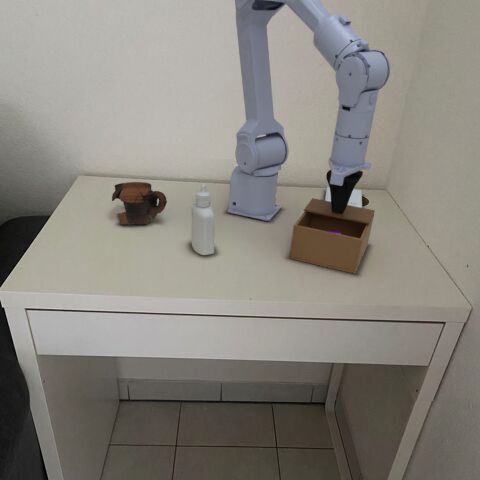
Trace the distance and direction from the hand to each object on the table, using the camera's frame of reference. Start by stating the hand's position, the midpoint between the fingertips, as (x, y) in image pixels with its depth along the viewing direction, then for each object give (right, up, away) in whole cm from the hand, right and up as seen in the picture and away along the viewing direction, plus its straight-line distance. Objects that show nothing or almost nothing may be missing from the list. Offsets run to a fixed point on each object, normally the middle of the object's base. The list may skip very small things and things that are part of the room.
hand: (338, 211), depth 89 cm
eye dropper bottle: (-25, -7, +2) cm, 26 cm away
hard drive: (+6, +7, +23) cm, 25 cm away
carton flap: (+1, 0, +1) cm, 2 cm away
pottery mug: (-38, +1, +11) cm, 40 cm away
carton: (-1, -7, +3) cm, 8 cm away
